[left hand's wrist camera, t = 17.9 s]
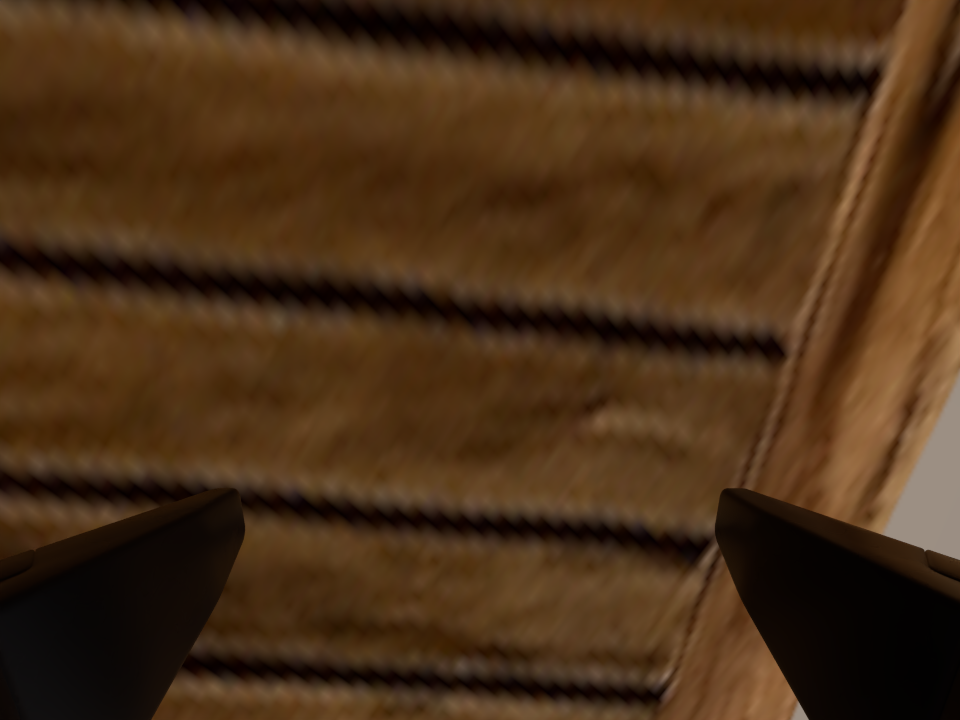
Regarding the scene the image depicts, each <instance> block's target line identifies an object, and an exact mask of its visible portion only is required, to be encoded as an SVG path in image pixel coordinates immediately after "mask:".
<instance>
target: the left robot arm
mask: <svg viewBox="0 0 960 720" xmlns="http://www.w3.org/2000/svg"><path fill="white" fill-rule="evenodd" d="M244 535H245V523H244V517H243V511H242V505H241V499H240V495H239V492H238V491H237V490H236V489H234V488H217V489H212V490H209V491H206V492H203V493H200V494H197V495H194V496H192V497H189V498H186V499H183V500H180V501H177V502H174V503H171V504H168V505H165V506H162V507H159V508H156V509H153V510H150V511H147V512H144V513H141V514H138V515H135V516H132V517H129V518H126V519H123V520H120V521H118V522H115V523H112V524H109V525H106V526H103V527H100V528H97V529H94V530H91V531H88V532H85V533H82V534H79V535H76V536H73V537H70V538H67V539H64V540H61V541H58V542H55V543H52V544H49V545H46V546H44V547H41V548H38V549H36V551H34V550H29V551H26V552H23V553H20V554H17V555H14V556H11V557H8V558H5V559H2V560H0V720H151V719H152V717H153V715H154V714H155V712H156V710H157V708H158V707H159V705H160V703H161V701H162V700H163V698H164V696H165V694H166V692H167V691H168V689H169V687H170V685H171V684H172V682H173V680H174V678H175V677H176V675H177V673H178V671H179V669H180V668H181V666H182V664H183V662H184V661H185V659H186V657H187V655H188V654H189V652H190V650H191V648H192V647H193V645H194V643H195V641H196V639H197V638H198V636H199V634H200V632H201V631H202V629H203V627H204V625H205V624H206V622H207V620H208V618H209V617H210V615H211V613H212V611H213V609H214V607H215V606H216V604H217V602H218V600H219V598H220V595H221V593H222V591H223V589H224V586H225V584H226V581H227V579H228V577H229V574H230V572H231V569H232V567H233V564H234V562H235V559H236V557H237V555H238V552H239V550H240V547H241V545H242V542H243V539H244ZM715 535H716V539H717V542H718V545H719V547H720V550H721V552H722V555H723V557H724V559H725V562H726V564H727V567H728V569H729V572H730V574H731V577H732V579H733V581H734V584H735V586H736V589H737V591H738V593H739V596H740V598H741V600H742V602H743V604H744V606H745V607H746V609H747V611H748V613H749V615H750V617H751V618H752V620H753V622H754V624H755V625H756V627H757V629H758V631H759V632H760V634H761V636H762V638H763V639H764V641H765V643H766V645H767V647H768V648H769V650H770V652H771V654H772V655H773V657H774V659H775V661H776V662H777V664H778V666H779V668H780V670H781V671H782V673H783V675H784V677H785V678H786V680H787V682H788V684H789V685H790V687H791V689H792V691H793V692H794V694H795V696H796V698H797V700H798V701H799V703H800V705H801V707H802V708H803V710H804V712H805V714H806V715H807V717H808V719H809V720H960V560H958V559H955V558H952V557H949V556H946V555H943V554H940V553H937V552H934V551H931V550H926V551H924V549H922V548H919V547H916V546H914V545H910V544H908V543H905V542H902V541H899V540H896V539H893V538H890V537H887V536H884V535H881V534H878V533H875V532H872V531H869V530H866V529H863V528H860V527H857V526H854V525H851V524H848V523H845V522H842V521H840V520H837V519H834V518H831V517H828V516H825V515H822V514H819V513H816V512H813V511H810V510H807V509H804V508H801V507H798V506H795V505H792V504H789V503H786V502H783V501H780V500H777V499H774V498H771V497H768V496H766V495H763V494H760V493H757V492H754V491H751V490H748V489H743V488H726V489H724V490H723V491H722V492H721V495H720V499H719V505H718V511H717V517H716V523H715Z"/></svg>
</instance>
